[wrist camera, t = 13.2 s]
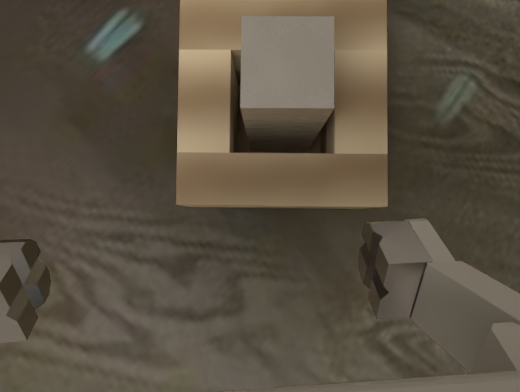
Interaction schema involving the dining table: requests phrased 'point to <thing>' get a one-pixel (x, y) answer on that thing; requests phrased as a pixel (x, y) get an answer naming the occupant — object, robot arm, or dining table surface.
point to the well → (281, 163)
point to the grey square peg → (286, 80)
